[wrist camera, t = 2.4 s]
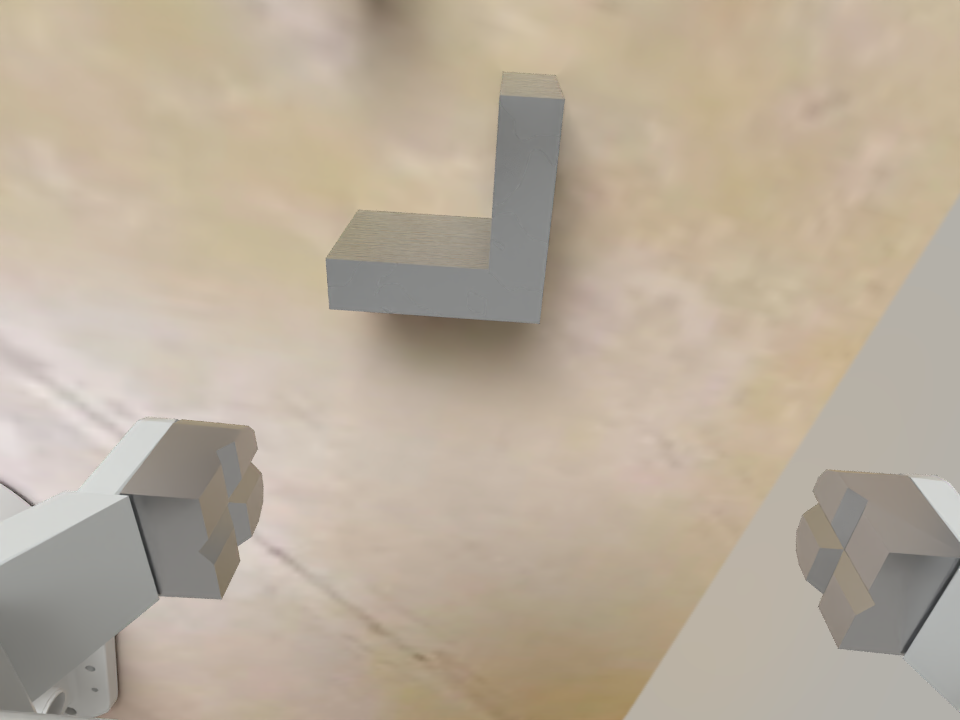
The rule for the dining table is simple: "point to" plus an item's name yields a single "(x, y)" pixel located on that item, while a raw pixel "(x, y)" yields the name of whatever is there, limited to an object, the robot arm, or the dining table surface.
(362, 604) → the dining table surface
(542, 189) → the bracket
